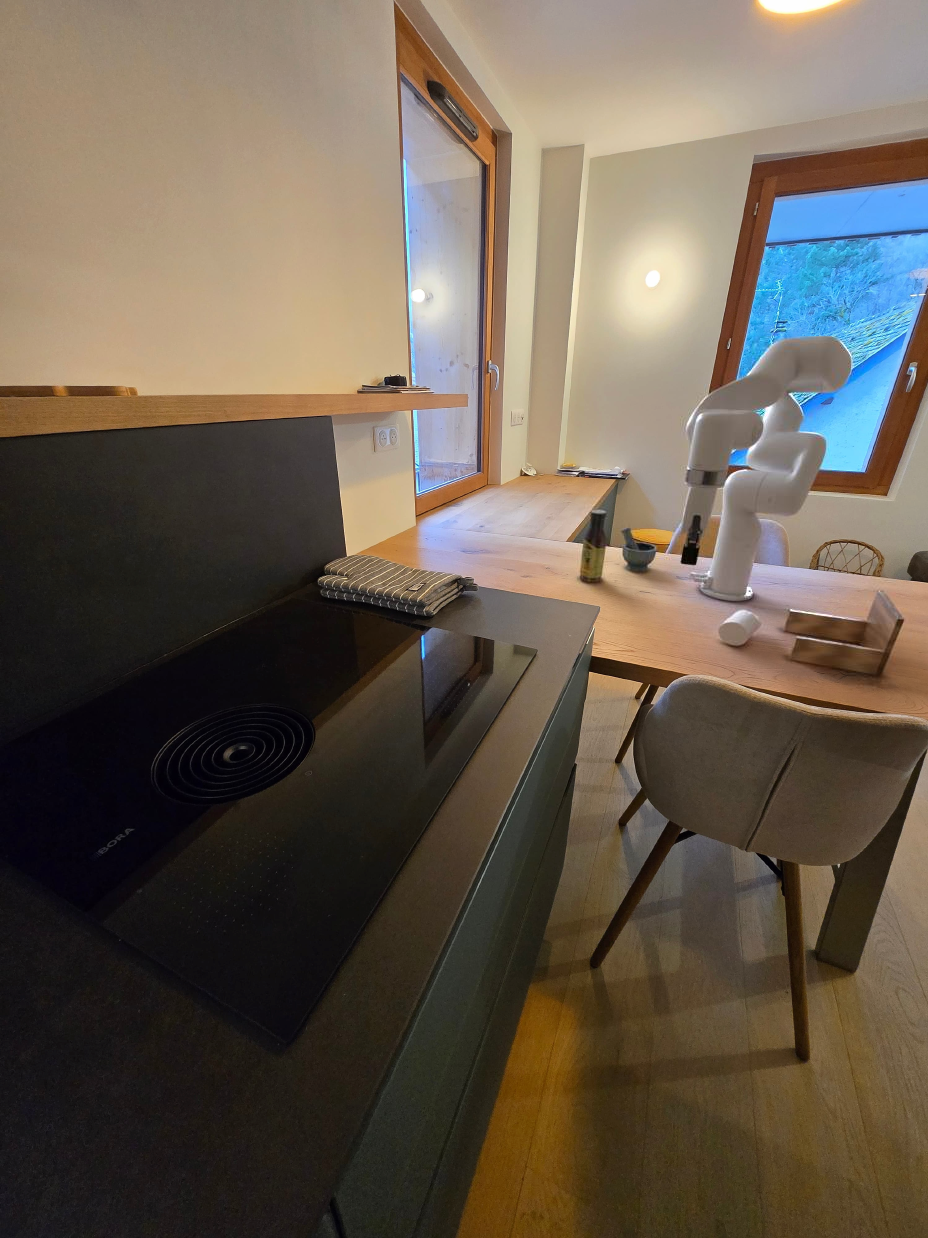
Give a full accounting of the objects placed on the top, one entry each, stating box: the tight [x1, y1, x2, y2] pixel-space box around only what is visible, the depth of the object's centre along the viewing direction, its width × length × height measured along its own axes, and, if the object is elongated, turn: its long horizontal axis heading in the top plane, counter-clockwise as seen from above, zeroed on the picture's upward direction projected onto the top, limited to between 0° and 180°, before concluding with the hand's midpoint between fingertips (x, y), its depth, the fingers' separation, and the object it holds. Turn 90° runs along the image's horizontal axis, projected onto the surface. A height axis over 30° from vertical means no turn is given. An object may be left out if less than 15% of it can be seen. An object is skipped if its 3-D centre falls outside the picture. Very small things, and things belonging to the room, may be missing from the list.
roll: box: [717, 609, 762, 647], centre depth 108 cm, size 6×12×6 cm, turn 135°
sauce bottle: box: [579, 509, 608, 583], centre depth 137 cm, size 6×6×20 cm
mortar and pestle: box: [620, 526, 658, 573], centre depth 147 cm, size 11×9×12 cm
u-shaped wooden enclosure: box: [783, 589, 905, 677], centre depth 100 cm, size 15×15×12 cm
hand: (688, 563), depth 108 cm, fingers closed
